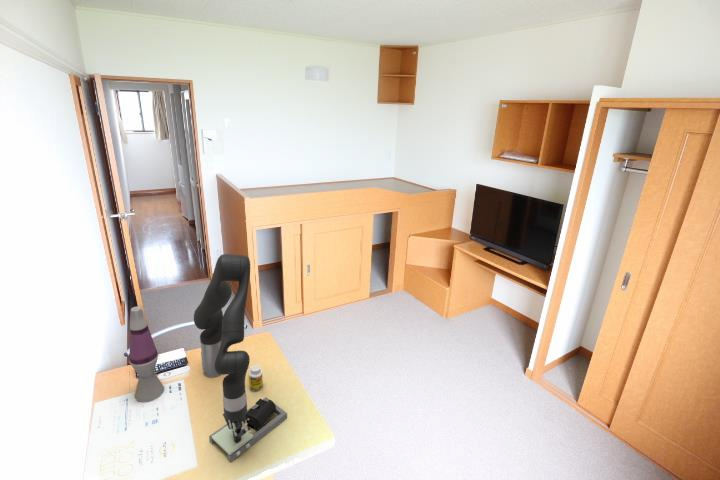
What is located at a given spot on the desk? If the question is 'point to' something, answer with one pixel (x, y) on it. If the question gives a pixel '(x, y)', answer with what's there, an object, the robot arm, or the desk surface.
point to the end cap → (260, 414)
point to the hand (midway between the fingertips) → (237, 440)
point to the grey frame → (259, 434)
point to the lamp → (143, 357)
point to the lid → (229, 439)
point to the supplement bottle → (255, 378)
